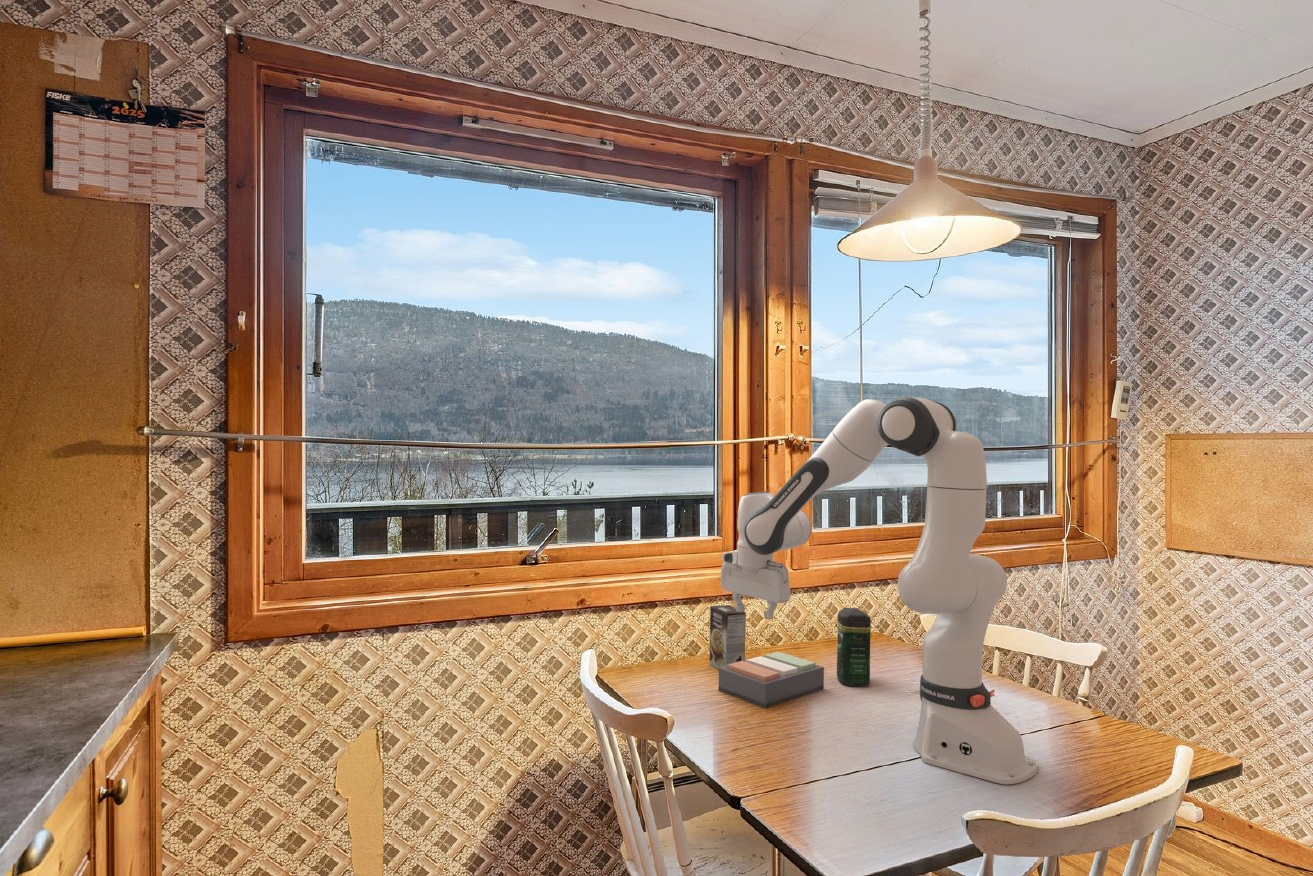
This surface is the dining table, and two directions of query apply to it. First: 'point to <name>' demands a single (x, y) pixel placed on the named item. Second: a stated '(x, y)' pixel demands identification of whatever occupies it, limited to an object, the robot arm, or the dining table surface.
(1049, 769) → the dining table surface
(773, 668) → the cream key
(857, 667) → the coffee jar
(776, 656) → the sage key
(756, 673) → the orange rectangular block
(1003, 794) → the dining table surface
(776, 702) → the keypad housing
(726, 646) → the coffee box
